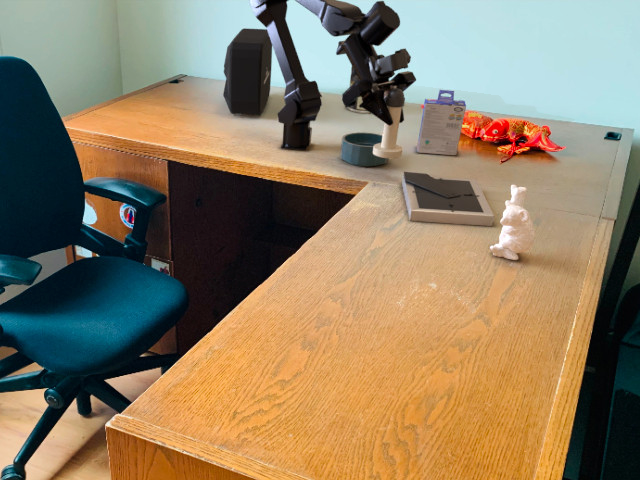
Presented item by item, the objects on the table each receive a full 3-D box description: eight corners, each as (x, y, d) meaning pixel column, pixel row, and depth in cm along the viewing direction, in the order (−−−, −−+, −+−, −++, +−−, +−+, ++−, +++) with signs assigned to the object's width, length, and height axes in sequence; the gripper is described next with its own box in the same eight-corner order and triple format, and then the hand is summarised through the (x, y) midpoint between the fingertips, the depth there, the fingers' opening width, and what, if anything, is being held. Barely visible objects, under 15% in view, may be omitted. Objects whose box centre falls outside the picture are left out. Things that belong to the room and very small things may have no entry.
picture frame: (401, 183, 148) (409, 220, 131) (403, 171, 146) (412, 207, 129) (474, 188, 147) (491, 226, 129) (476, 175, 145) (495, 212, 128)
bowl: (337, 165, 158) (339, 144, 155) (343, 150, 167) (345, 130, 165) (386, 170, 156) (389, 148, 153) (389, 155, 165) (392, 134, 162)
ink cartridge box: (455, 149, 170) (467, 90, 162) (457, 156, 165) (469, 95, 157) (416, 146, 171) (426, 87, 163) (416, 153, 167) (426, 93, 159)
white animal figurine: (482, 243, 123) (497, 181, 116) (520, 246, 122) (537, 183, 115) (491, 264, 116) (508, 198, 109) (531, 267, 115) (550, 201, 108)
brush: (369, 155, 147) (377, 89, 139) (377, 147, 152) (386, 83, 144) (397, 160, 145) (408, 93, 137) (404, 152, 150) (415, 87, 142)
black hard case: (260, 120, 189) (262, 44, 178) (217, 117, 190) (217, 42, 179) (270, 95, 214) (273, 27, 203) (233, 93, 215) (233, 25, 204)
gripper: (359, 39, 133) (394, 108, 132) (416, 31, 143) (449, 95, 142) (326, 74, 142) (359, 138, 141) (382, 63, 152) (413, 123, 151)
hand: (396, 123), depth 144 cm, fingers closed on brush, 3 cm apart
